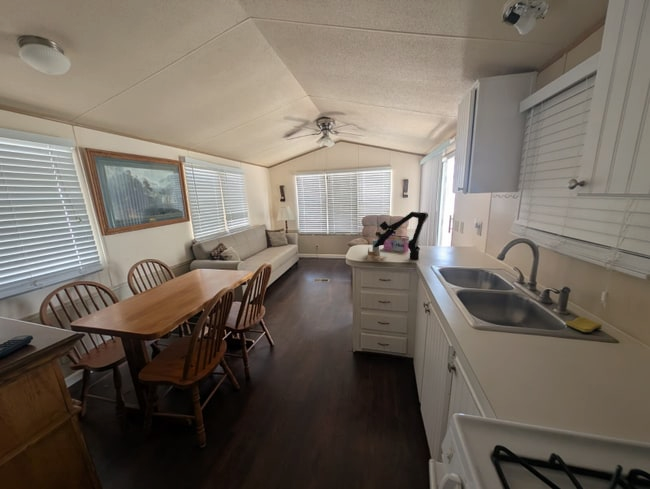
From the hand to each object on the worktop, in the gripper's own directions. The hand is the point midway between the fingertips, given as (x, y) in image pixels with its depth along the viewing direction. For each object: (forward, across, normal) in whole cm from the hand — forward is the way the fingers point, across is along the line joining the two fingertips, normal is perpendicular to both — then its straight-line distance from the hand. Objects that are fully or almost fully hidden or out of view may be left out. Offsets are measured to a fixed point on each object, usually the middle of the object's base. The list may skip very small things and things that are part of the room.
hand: (374, 246), depth 219 cm
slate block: (+3, 0, +5) cm, 6 cm away
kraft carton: (+3, +15, +8) cm, 17 cm away
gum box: (-8, -22, +20) cm, 30 cm away
